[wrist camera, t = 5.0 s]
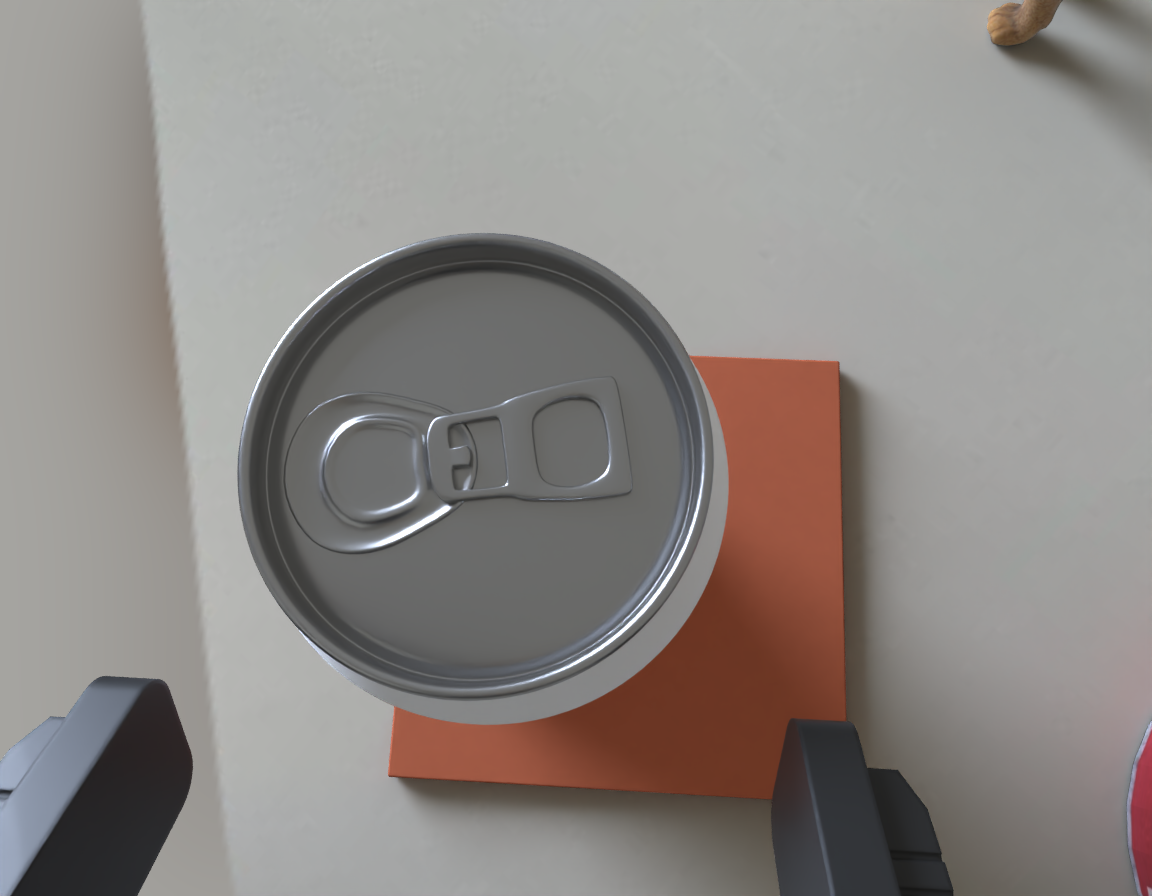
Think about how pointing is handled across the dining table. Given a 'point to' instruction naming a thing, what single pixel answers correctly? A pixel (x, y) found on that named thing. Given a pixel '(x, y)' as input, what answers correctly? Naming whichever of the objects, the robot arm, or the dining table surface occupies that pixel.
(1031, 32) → the lion figurine
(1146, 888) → the canned food
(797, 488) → the terracotta mat
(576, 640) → the can
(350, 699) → the dining table surface
